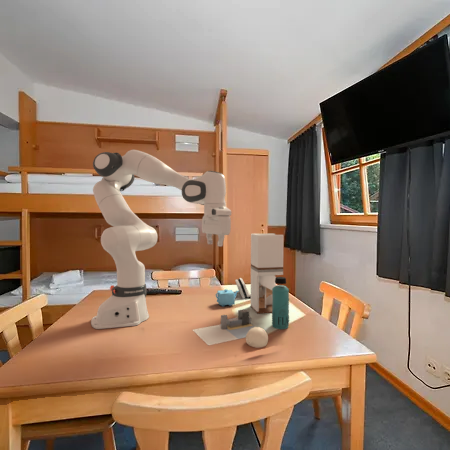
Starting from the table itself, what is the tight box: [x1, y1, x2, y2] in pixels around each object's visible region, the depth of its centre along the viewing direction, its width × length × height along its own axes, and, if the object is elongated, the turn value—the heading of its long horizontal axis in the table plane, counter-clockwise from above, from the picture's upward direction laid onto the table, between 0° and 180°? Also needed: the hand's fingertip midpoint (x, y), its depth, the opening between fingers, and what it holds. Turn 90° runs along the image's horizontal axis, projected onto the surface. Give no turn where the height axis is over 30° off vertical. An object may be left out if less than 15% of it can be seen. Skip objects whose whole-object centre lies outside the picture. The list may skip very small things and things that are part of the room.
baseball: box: [245, 326, 269, 349], centre depth 94 cm, size 7×7×7 cm
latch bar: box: [227, 308, 252, 328], centre depth 110 cm, size 9×3×5 cm, turn 119°
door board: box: [192, 314, 255, 346], centre depth 104 cm, size 22×14×6 cm, turn 117°
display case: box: [250, 233, 285, 315], centre depth 129 cm, size 11×11×35 cm
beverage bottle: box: [271, 276, 290, 330], centre depth 110 cm, size 6×7×20 cm
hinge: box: [234, 277, 251, 300], centre depth 160 cm, size 17×5×10 cm, turn 5°
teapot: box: [215, 288, 240, 308], centre depth 141 cm, size 12×6×8 cm, turn 103°
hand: (214, 245), depth 118 cm, fingers open, 8 cm apart
